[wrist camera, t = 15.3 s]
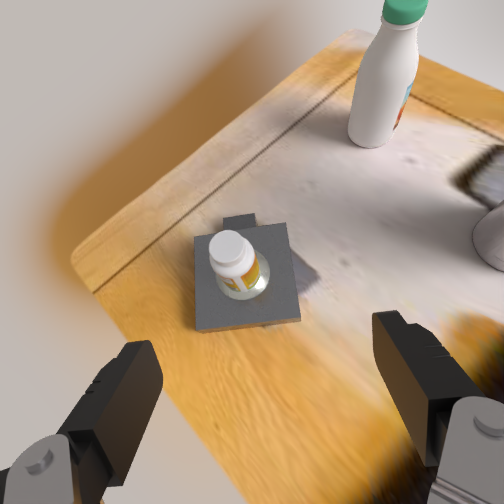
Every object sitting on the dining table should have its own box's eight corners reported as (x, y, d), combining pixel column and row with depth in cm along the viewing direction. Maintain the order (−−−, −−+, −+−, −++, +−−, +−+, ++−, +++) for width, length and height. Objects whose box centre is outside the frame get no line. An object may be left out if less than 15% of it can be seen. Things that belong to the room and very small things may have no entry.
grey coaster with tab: (199, 229, 49) (192, 219, 46) (284, 215, 47) (283, 204, 44) (201, 333, 42) (193, 330, 39) (301, 321, 41) (301, 316, 38)
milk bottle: (379, 156, 49) (424, 26, 31) (338, 138, 52) (357, 8, 34) (402, 125, 51) (458, -16, 33) (361, 109, 53) (392, -29, 35)
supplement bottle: (257, 252, 42) (245, 218, 33) (264, 288, 40) (254, 262, 31) (220, 260, 42) (199, 229, 34) (226, 296, 40) (205, 273, 31)
